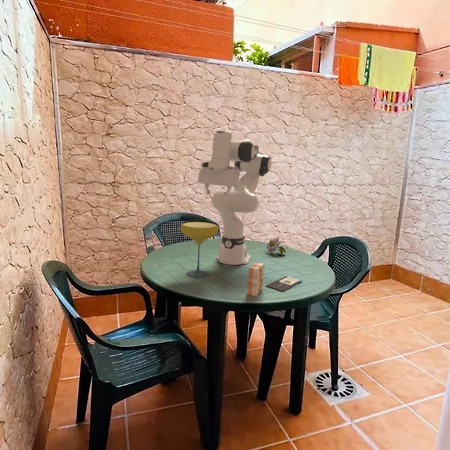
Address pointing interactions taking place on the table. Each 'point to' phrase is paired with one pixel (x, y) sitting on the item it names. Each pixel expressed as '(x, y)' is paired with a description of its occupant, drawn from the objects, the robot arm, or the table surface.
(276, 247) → the passion flower
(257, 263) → the tan wooden block
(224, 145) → the robot arm
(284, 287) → the chocolate bar
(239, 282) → the table surface
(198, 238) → the cocktail glass
